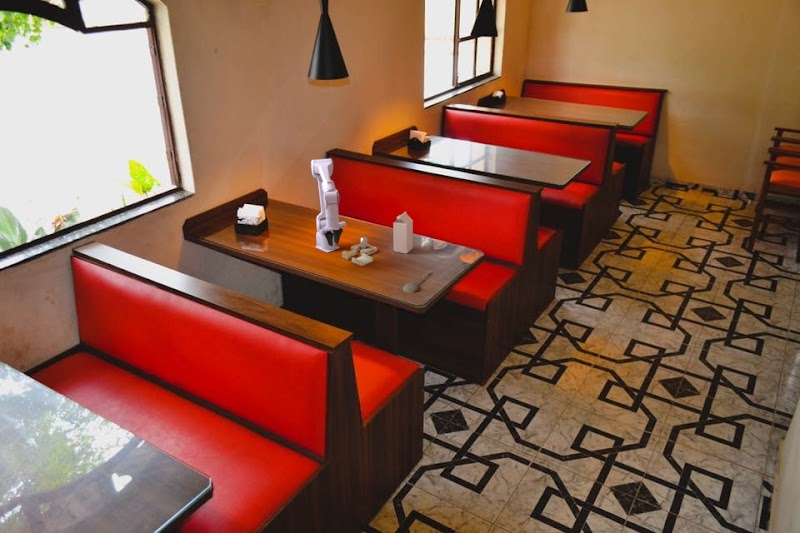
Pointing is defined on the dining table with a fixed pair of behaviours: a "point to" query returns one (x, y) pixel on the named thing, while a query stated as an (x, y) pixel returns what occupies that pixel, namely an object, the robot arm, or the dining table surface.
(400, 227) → the milk carton
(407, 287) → the soupspoon
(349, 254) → the block
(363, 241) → the peg
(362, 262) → the pad
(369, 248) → the socket block
